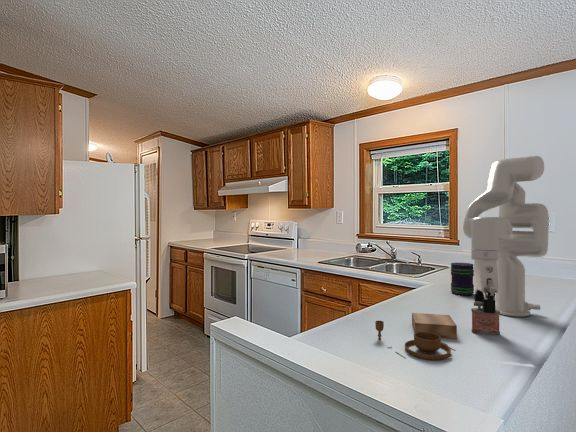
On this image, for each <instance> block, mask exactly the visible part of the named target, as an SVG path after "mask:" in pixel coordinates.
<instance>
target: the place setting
mask: <svg viewBox="0 0 576 432" xmlns="http://www.w3.org/2000/svg"><path fill="white" fill-rule="evenodd" d="M374 322H375V324H374V325H375V330H376V331H377V333H378V334H377V337H378V338H377V340H378V339H379V340H380V341H381V339H382V332H383V331H384V326H385V325H384V320H376V321H374ZM441 339H442V338H441V337H440V336H439V335H437V334H434V333H430V332H417V333H413V339H412V340H408V341H406V342H405V343H404V350H406V352H407V353H409V354H410V355H412V356H413V357H416V358H419V359H423V360H428V361H429V360H430V361H441V360H445V359H447V358H448V357H449V356H450V355H451V352H452V351H454V352H456V349H453V347H450V346H449V345H448V344H447V343H446V342H442V341H441ZM411 346H415V347H416V349H418V350H419V351H420V352H417V351H414V350H412V349H410V347H411ZM387 349H390V350H391V349H393V347H392V346H389V347H387ZM440 349H442V350H443V351H444V352H446V353H443V354H435V353H436V352H438V351H439V350H440ZM394 353H395V354H397V355H398V356H400V357H402V358H404V359H407V357H406V356H404V355H402V354H401V353H400V352H397V351H395V352H394Z"/></svg>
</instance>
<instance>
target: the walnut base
mask: <svg viewBox="0 0 576 432" xmlns="http://www.w3.org/2000/svg"><path fill="white" fill-rule="evenodd" d="M411 325H412V329H413V332H414V333H413V334H415V333H417V332H430V333H434V334H437V335H439V336H440V337H441V339H454V340H456V339H458V333H457V332H458V330H457V329H458V328H457V327H458V326H457V324H456V323H455V321H454V320H453V318H452V317H451V315H450V314H438V313H422V312H411Z"/></svg>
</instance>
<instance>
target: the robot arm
mask: <svg viewBox="0 0 576 432" xmlns="http://www.w3.org/2000/svg"><path fill="white" fill-rule="evenodd" d="M544 172H545V162H544V159H543V158H542V157H541V156H539V155H529V156H523V157H512V158H510V157H509V158H504V159H499V160H497V161H494V162H493V163H492V164H491V167H490V170H489V174H488V178H487V182H486V187H485V191H484V192H483V193H482V194H480V195H479V196H477V198H475V200H473V201H472V202H471V203H470V204H469V206H468V207H467V209H466V212H465V216H464V220H463V225H462V230H463V234H464V235H465V236H466V238H468V239H471V240H470V241H471V242H470V243H471V245H470V246H471V247H470V248H471V251H470V252H471V253H470V254H471V257H470V258H471V260H472V261H474V263H473V268H474V269H473V270H474V276H473V285H474V302H482V303H483V306H482V307H483V312H484V313H495V310H499V311H500V314H499V315H503V316H509V317H518V318H519V317H520V318H521V317H529V316H530V315H531V310H534V311H540V310H541V305H540V304H536V303H535V304H534V303H530V302H529V303H528V302H527V301H526V268H525V266H524V264H523V262H522V261H521V260H520V259H519V257H530V258H531V257H532V258H543V257H544V256H545V255H547V254H548V250H549V231H550V230H549V228H550V227H549V226H550V225H549V221H550V216H549V211H548V208H547V206H546V205H545V204H543V203H536V202H535V203H534V202H533V203H530V202H529V203H526V191H525V189H524V188H523V187H522V185H520V184H519V183H520V182H532V181H537V180H538V179H539V178H542V176H543V174H544ZM518 182H519V183H518ZM497 207H498V208H499V209H498V216H480V215H482V214H483V213H484V212H486V211H489V210H492V209H494V208H497ZM513 229H532V230H531V231H530V230H528V231H527V230H526V231H524V230H513Z"/></svg>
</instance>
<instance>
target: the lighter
mask: <svg viewBox="0 0 576 432" xmlns="http://www.w3.org/2000/svg"><path fill="white" fill-rule="evenodd" d="M473 306H474V307H472V308H471V309H470V311H471V333H473V334H475V335H476V334H477V335H486V336H500V335H501V331H500V315H501V314H500V311H499V310H495V313H484V312H483V303H482V302H475V301H474V302H473Z"/></svg>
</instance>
